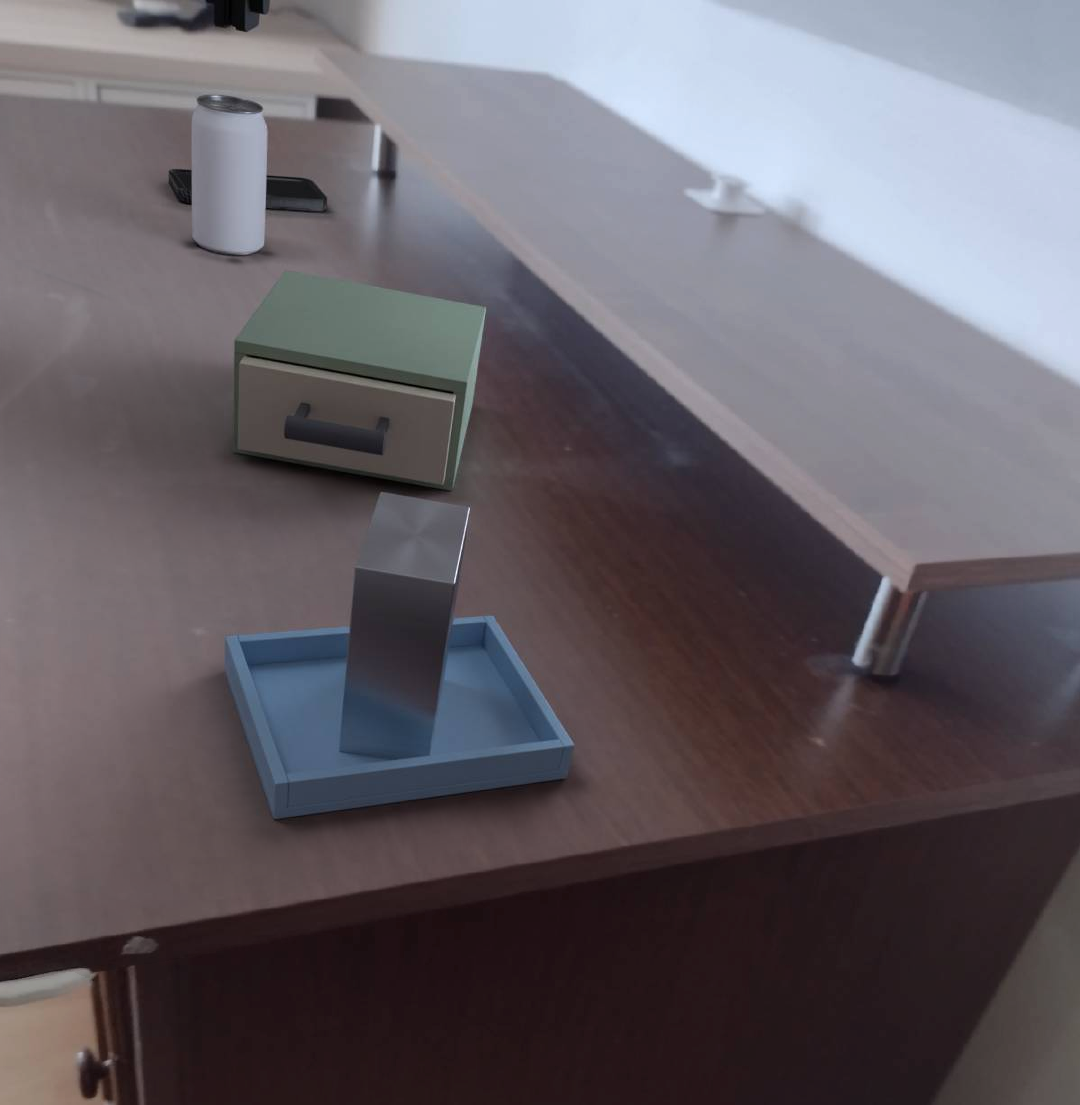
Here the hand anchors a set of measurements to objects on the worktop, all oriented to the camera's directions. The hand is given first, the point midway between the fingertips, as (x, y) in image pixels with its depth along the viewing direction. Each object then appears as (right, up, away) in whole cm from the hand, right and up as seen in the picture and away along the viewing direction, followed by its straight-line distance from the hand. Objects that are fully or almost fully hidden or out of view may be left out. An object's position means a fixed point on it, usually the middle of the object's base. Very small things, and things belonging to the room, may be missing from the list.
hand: (237, 24), depth 62 cm
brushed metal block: (+9, -36, -4) cm, 37 cm away
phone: (-14, +18, +61) cm, 65 cm away
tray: (+8, -36, -3) cm, 37 cm away
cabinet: (+3, -15, +23) cm, 28 cm away
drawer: (+3, -17, +19) cm, 26 cm away
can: (-13, +8, +49) cm, 51 cm away
